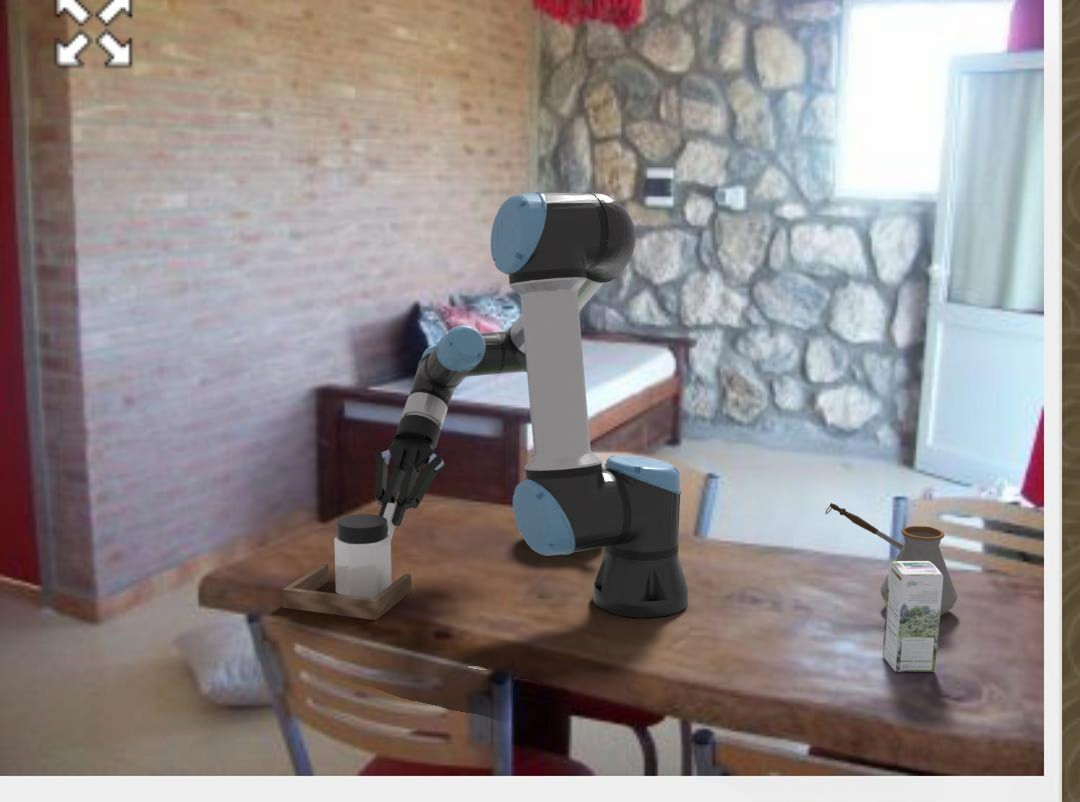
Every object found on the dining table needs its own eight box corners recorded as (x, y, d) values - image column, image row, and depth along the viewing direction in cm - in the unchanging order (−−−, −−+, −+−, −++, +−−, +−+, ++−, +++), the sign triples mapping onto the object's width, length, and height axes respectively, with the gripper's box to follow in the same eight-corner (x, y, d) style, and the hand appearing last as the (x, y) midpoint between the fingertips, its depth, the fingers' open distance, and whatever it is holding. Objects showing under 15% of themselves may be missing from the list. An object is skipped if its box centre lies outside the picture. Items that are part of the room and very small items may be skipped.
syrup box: (921, 656, 169) (928, 558, 166) (936, 673, 163) (944, 572, 160) (881, 656, 168) (888, 558, 166) (895, 674, 163) (902, 573, 160)
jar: (400, 594, 192) (398, 522, 190) (355, 605, 187) (353, 532, 185) (371, 579, 199) (370, 510, 197) (328, 589, 194) (326, 518, 192)
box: (411, 592, 193) (411, 574, 192) (376, 620, 181) (375, 601, 180) (323, 581, 198) (322, 563, 197) (283, 607, 186) (282, 589, 185)
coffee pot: (964, 607, 188) (972, 516, 185) (943, 630, 178) (950, 534, 176) (835, 580, 200) (839, 494, 197) (808, 600, 190) (813, 510, 187)
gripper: (460, 438, 214) (425, 554, 201) (394, 433, 218) (355, 547, 205) (449, 414, 208) (411, 533, 195) (381, 410, 212) (340, 526, 199)
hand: (383, 540), depth 200 cm, fingers closed
